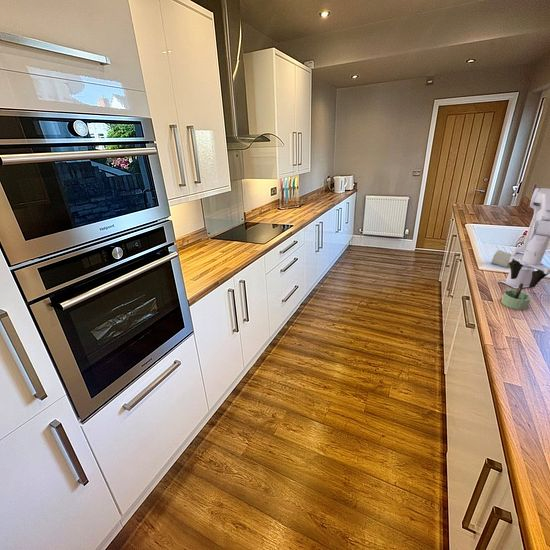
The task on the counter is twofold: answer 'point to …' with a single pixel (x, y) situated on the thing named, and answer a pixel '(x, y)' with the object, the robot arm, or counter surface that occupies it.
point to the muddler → (519, 291)
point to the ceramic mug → (501, 258)
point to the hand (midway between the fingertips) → (522, 282)
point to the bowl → (515, 300)
